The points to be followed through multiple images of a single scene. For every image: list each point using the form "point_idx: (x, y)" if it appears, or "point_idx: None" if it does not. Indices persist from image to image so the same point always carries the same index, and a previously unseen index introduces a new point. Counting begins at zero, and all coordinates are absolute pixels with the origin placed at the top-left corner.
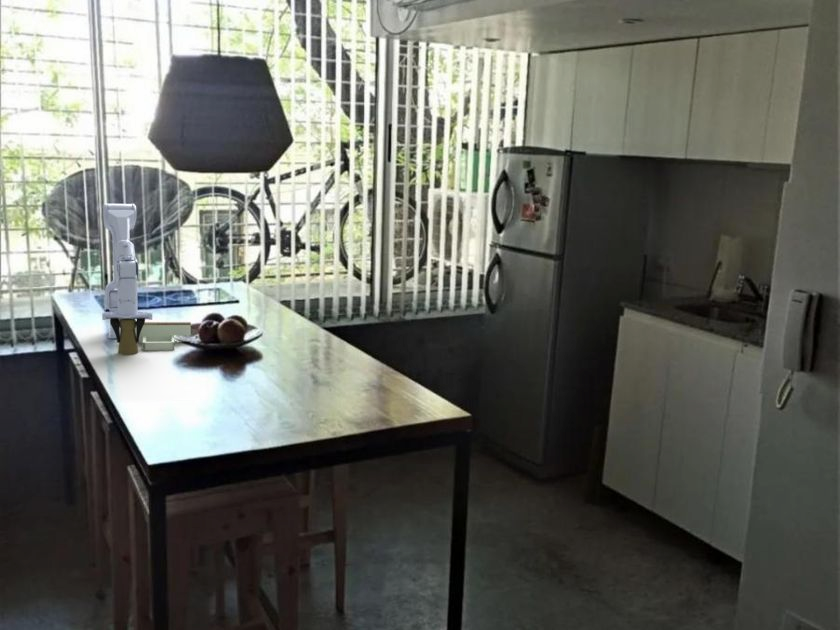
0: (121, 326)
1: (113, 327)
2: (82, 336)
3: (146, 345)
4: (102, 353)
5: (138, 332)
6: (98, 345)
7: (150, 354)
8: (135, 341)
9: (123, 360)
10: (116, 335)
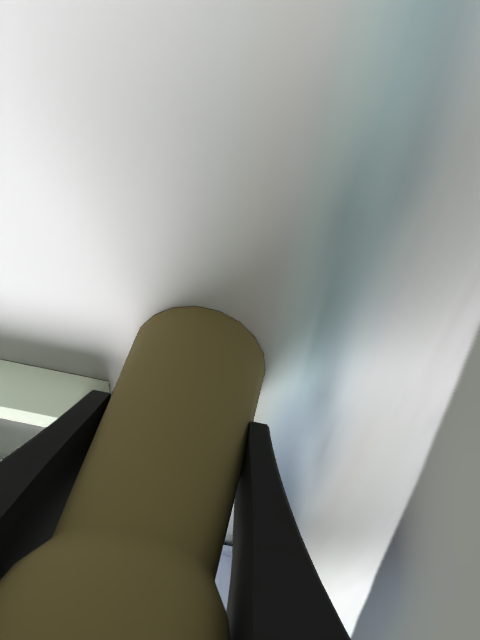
0: (201, 622)
1: (330, 624)
2: (359, 589)
3: (67, 399)
4: (365, 384)
5: (12, 470)
6: (336, 501)
7: (43, 282)
8: (110, 399)
9: (258, 156)
10: (278, 487)
